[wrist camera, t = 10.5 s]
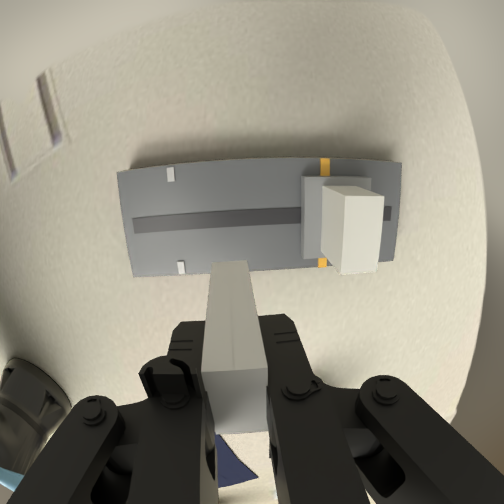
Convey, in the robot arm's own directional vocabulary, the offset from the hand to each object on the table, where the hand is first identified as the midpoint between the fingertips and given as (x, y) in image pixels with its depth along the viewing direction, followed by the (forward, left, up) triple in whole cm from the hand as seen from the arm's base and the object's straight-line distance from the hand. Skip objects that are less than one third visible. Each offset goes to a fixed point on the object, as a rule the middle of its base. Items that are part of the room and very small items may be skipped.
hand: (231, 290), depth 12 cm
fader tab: (+8, +5, -12) cm, 15 cm away
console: (+3, +2, -16) cm, 16 cm away
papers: (+11, -52, -16) cm, 55 cm away
